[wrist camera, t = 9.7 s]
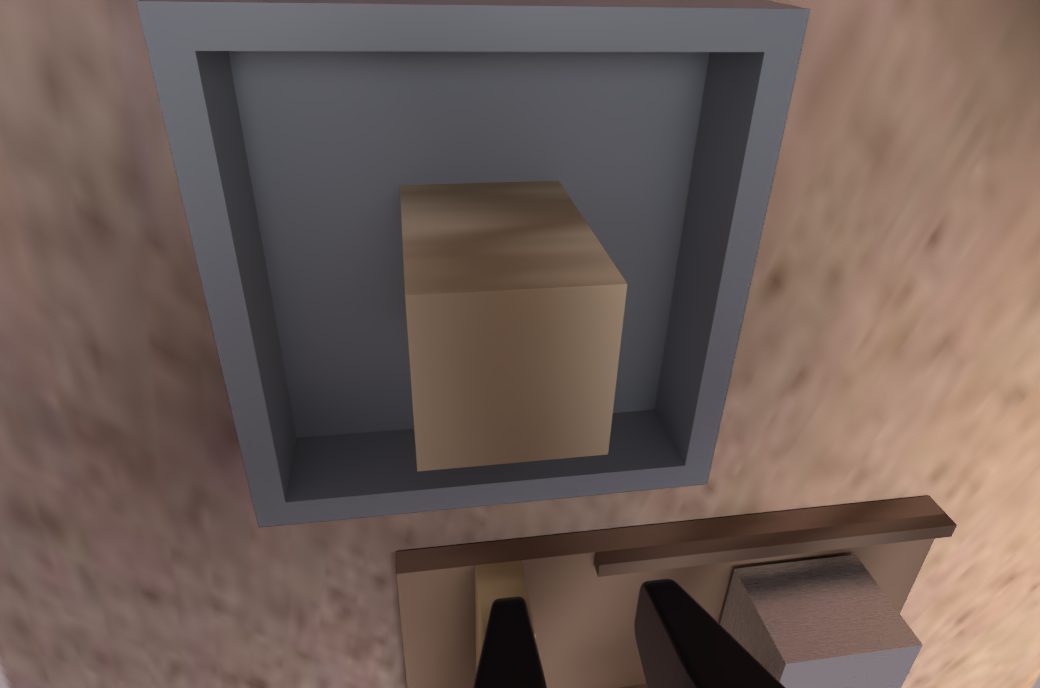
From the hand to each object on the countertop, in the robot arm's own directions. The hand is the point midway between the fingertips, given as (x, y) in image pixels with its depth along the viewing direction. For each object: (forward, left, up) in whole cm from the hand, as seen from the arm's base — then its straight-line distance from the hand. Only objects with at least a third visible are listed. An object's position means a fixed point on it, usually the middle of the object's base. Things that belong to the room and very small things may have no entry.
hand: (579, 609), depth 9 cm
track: (-8, +16, -12) cm, 21 cm away
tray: (0, 0, -12) cm, 12 cm away
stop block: (0, 0, -11) cm, 11 cm away
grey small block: (-12, +16, -11) cm, 23 cm away
